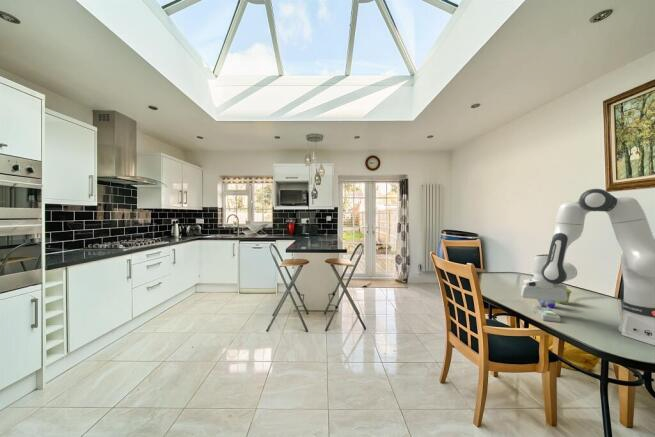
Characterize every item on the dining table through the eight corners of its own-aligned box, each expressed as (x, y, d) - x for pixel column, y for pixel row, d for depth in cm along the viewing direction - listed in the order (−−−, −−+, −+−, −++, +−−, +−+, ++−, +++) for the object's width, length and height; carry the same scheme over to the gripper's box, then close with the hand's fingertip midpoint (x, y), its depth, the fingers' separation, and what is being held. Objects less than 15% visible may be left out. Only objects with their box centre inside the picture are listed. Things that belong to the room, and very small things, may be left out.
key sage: (543, 312, 140) (543, 309, 140) (552, 314, 139) (552, 310, 139) (546, 315, 137) (546, 312, 137) (555, 316, 135) (555, 313, 135)
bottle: (540, 306, 155) (540, 277, 155) (538, 303, 160) (538, 275, 160) (556, 308, 152) (556, 279, 152) (553, 305, 157) (553, 276, 157)
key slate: (540, 309, 145) (540, 306, 145) (549, 310, 143) (549, 307, 143) (542, 312, 141) (542, 309, 141) (551, 313, 140) (551, 310, 140)
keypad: (533, 309, 151) (533, 304, 151) (548, 311, 148) (548, 306, 148) (543, 320, 136) (543, 315, 136) (560, 322, 133) (560, 317, 133)
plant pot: (563, 300, 166) (563, 286, 166) (576, 305, 157) (576, 291, 156) (547, 300, 167) (547, 286, 167) (559, 305, 158) (559, 291, 157)
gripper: (564, 283, 145) (564, 307, 145) (520, 280, 154) (520, 303, 154) (569, 286, 139) (569, 311, 140) (523, 282, 148) (523, 306, 148)
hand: (543, 307), depth 147 cm, fingers closed
